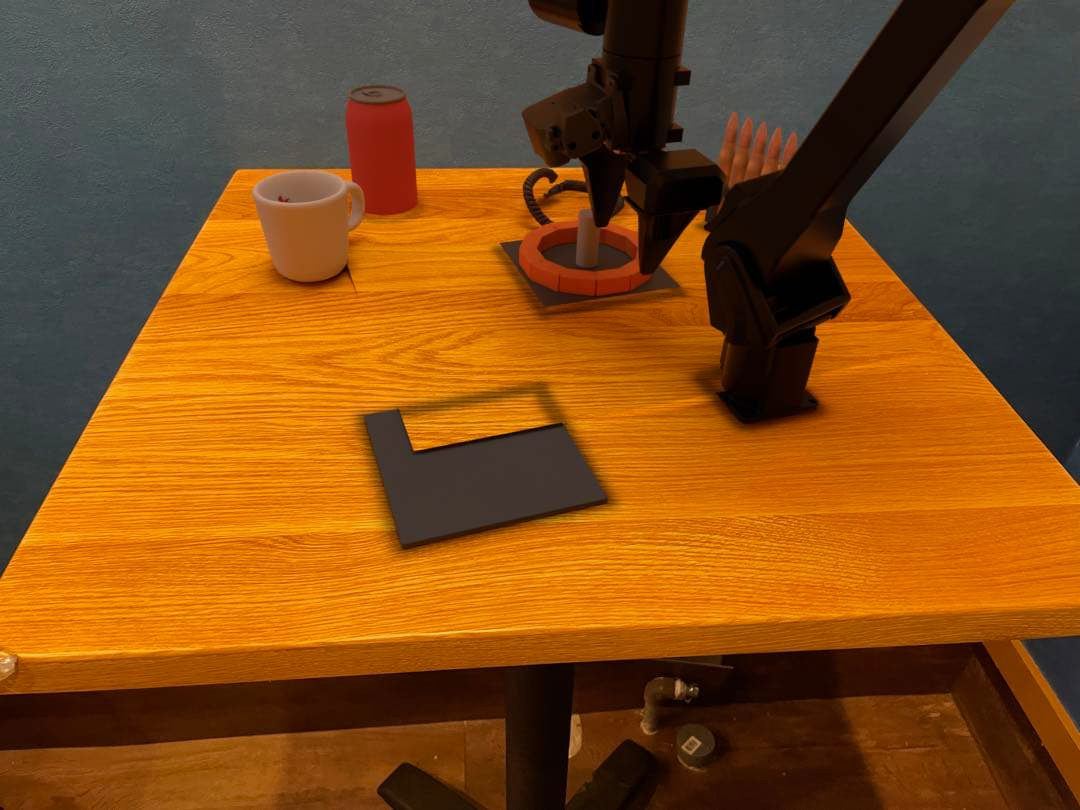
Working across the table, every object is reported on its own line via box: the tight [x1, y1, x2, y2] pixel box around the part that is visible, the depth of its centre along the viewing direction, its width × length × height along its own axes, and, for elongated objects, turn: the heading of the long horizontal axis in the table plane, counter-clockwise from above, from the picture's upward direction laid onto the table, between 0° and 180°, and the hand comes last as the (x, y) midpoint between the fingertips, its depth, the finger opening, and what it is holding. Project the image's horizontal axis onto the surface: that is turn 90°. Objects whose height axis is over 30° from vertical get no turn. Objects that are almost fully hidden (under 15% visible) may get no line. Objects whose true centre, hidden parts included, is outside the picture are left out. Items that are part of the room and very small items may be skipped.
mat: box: [363, 408, 609, 550], centre depth 54 cm, size 13×13×1 cm
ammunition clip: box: [703, 110, 798, 223], centre depth 79 cm, size 11×2×12 cm, turn 37°
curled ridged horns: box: [522, 167, 625, 227], centre depth 85 cm, size 13×5×10 cm
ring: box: [519, 219, 651, 296], centre depth 76 cm, size 12×12×2 cm
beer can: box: [344, 84, 419, 216], centre depth 83 cm, size 7×7×12 cm
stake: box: [499, 208, 682, 308], centre depth 75 cm, size 13×13×6 cm
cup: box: [251, 169, 365, 283], centre depth 74 cm, size 11×8×8 cm
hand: (622, 249), depth 68 cm, fingers open, 9 cm apart
